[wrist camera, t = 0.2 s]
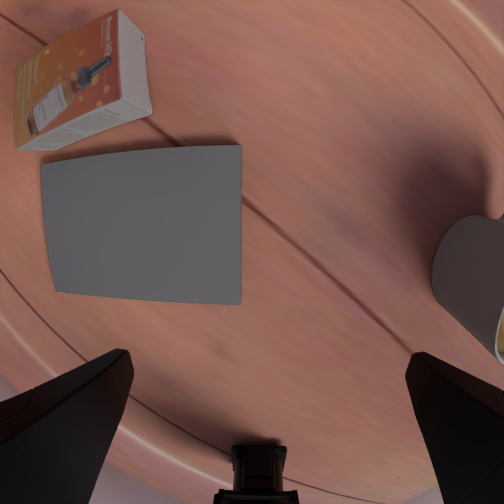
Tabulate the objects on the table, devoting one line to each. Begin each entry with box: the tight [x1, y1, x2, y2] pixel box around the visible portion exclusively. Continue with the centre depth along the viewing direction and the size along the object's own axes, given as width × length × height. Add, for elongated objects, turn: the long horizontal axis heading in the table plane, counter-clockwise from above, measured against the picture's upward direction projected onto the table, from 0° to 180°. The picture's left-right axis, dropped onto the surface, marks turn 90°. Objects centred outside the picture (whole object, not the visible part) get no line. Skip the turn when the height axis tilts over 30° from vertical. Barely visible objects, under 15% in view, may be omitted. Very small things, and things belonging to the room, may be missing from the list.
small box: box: [14, 9, 153, 151], centre depth 16 cm, size 8×6×10 cm
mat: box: [41, 145, 242, 305], centre depth 22 cm, size 12×18×1 cm, turn 89°
